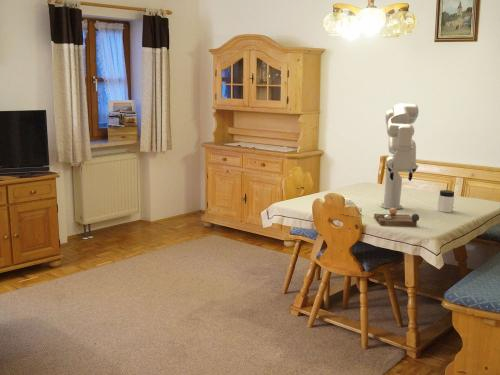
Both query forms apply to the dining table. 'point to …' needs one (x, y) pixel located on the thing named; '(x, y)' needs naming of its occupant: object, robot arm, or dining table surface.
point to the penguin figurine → (352, 203)
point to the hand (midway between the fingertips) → (400, 180)
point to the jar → (446, 201)
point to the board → (395, 220)
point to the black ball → (415, 217)
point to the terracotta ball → (393, 211)
